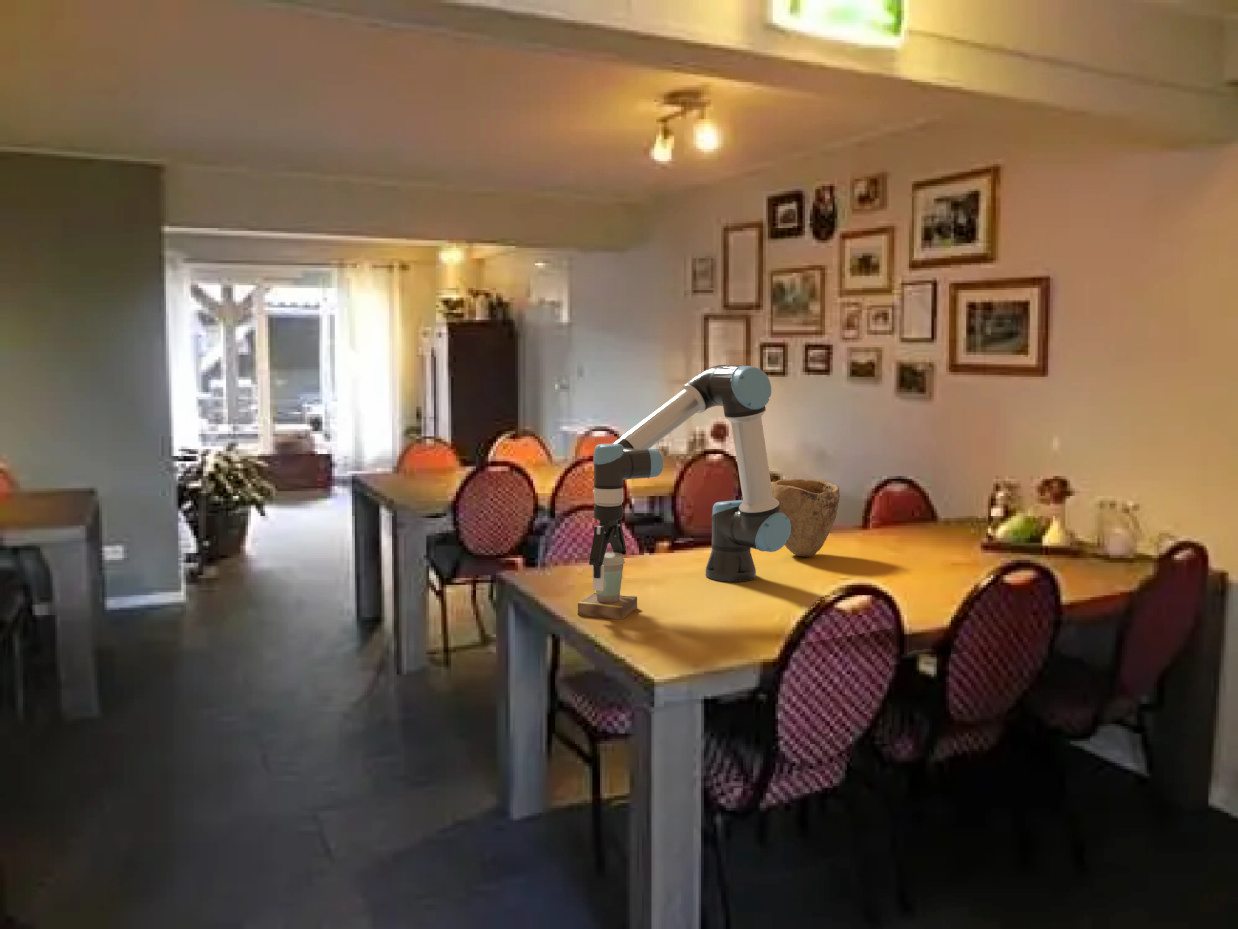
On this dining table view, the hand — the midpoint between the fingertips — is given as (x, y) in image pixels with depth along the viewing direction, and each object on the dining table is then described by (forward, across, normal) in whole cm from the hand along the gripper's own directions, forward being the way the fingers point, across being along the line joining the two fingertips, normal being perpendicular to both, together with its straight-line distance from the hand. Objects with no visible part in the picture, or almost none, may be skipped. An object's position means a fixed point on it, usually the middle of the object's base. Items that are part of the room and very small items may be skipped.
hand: (607, 584), depth 262 cm
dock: (+7, 0, 0) cm, 7 cm away
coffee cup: (+4, 0, 0) cm, 4 cm away
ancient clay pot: (+7, -88, +35) cm, 95 cm away
